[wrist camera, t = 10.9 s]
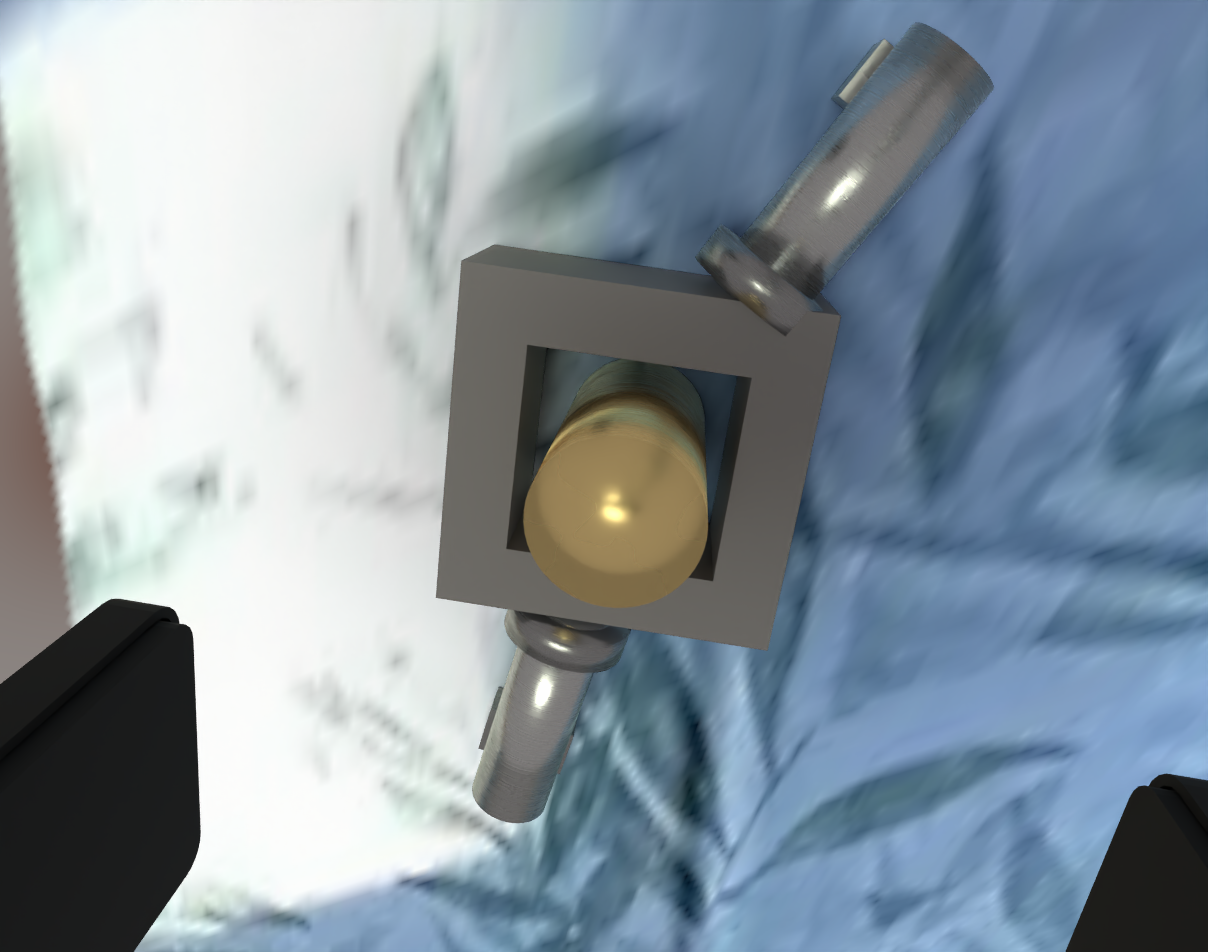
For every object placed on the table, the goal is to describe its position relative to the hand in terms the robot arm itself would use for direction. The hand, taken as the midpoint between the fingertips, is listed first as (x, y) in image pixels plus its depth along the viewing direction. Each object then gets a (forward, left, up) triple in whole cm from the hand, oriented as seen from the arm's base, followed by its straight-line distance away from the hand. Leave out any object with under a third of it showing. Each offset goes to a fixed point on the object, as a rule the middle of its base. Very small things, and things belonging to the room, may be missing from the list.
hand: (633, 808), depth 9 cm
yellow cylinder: (+1, +2, -19) cm, 19 cm away
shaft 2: (-3, -6, -19) cm, 20 cm away
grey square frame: (+1, +2, -19) cm, 19 cm away
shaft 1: (+2, +10, -19) cm, 21 cm away
